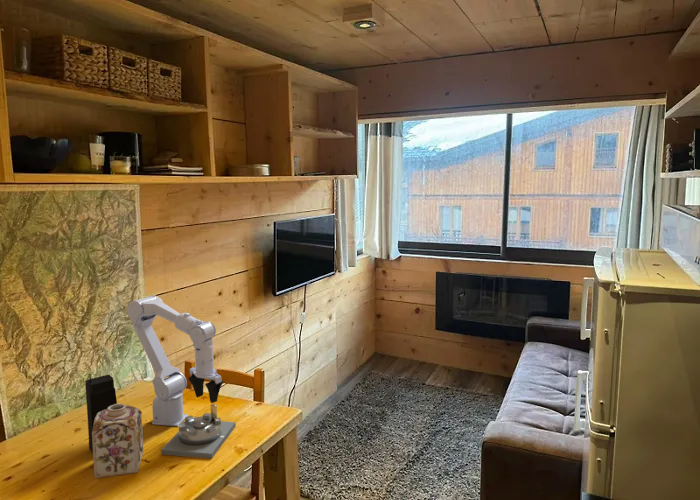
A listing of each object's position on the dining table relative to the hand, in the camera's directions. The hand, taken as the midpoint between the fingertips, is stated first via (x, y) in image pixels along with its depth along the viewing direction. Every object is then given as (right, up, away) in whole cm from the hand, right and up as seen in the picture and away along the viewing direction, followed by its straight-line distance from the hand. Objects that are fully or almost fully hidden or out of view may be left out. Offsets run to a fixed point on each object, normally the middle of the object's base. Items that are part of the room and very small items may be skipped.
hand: (206, 399), depth 167 cm
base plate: (0, -11, -5) cm, 13 cm away
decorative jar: (-19, -14, -20) cm, 31 cm away
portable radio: (-28, -12, -11) cm, 33 cm away
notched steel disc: (0, -10, -6) cm, 11 cm away
